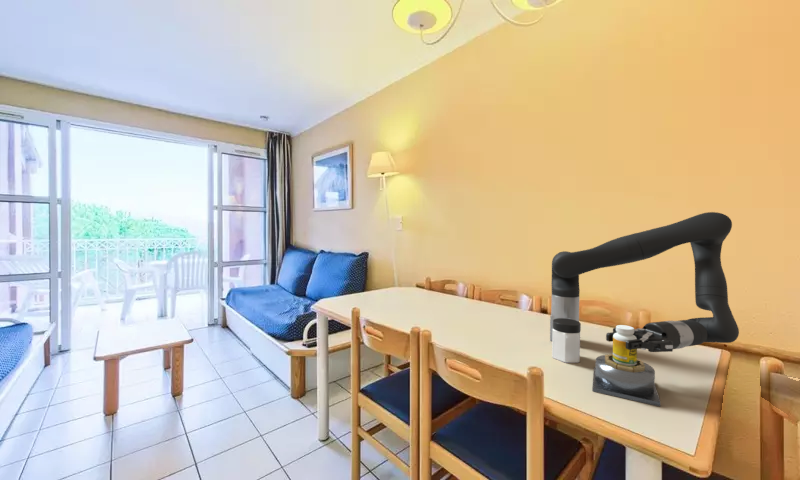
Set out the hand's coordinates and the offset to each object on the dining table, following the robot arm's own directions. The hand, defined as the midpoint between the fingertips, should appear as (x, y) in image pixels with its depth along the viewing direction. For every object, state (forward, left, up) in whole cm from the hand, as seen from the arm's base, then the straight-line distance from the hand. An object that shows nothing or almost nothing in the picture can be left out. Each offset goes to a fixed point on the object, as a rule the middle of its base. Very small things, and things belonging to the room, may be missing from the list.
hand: (617, 341), depth 86 cm
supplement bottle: (+2, +2, -6) cm, 7 cm away
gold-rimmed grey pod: (+2, +2, -13) cm, 13 cm away
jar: (-13, +15, -13) cm, 24 cm away
